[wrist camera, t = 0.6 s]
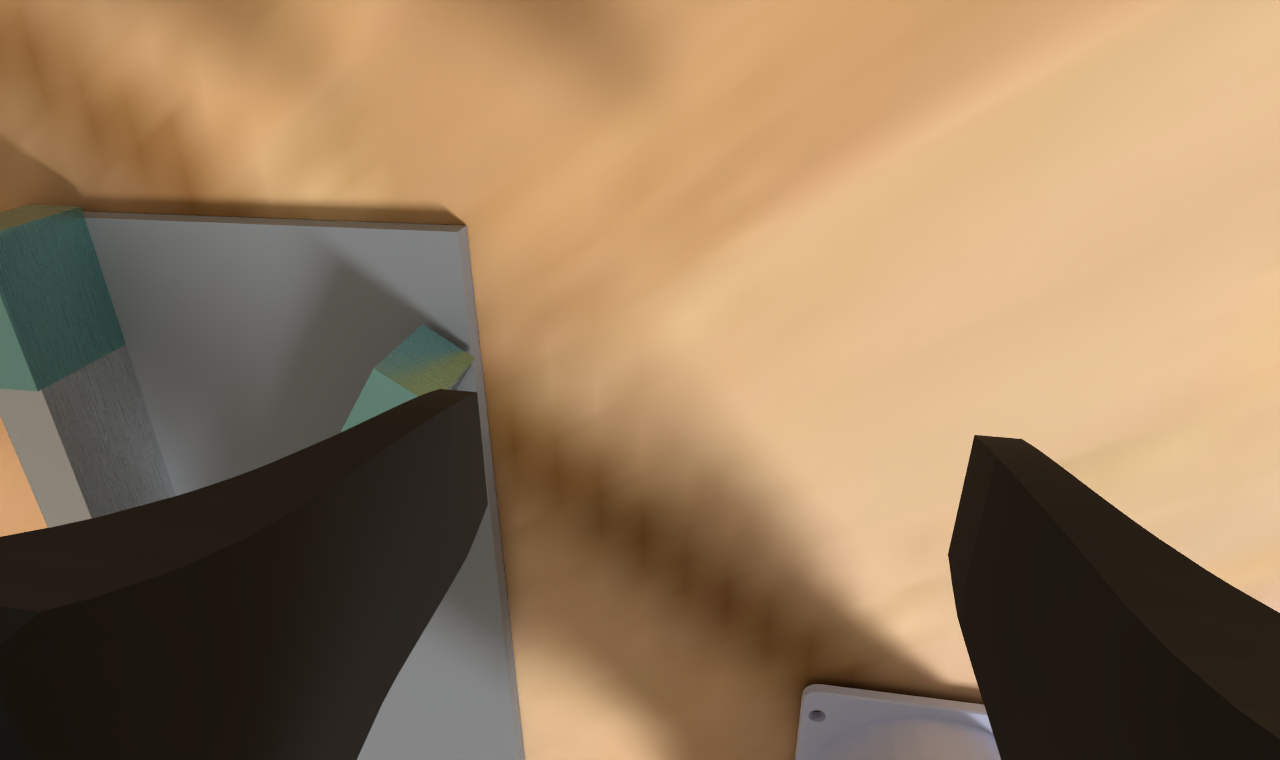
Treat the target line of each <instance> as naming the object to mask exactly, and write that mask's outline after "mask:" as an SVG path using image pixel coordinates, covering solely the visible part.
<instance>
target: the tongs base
mask: <svg viewBox="0 0 1280 760" xmlns="http://www.w3.org/2000/svg"><path fill="white" fill-rule="evenodd" d="M0 416H1V418H2V421H3V423H4V425H5V428H6V430H7V432H8V435H9V437H10V439H11V442H12V444H13V446H14V449H15V451H16V454H17V456H18V458H19V461H20V463H21V465H22V468H23V470H24V472H25V475H26V477H27V479H28V482H29V484H30V487H31V489H32V491H33V494H34V496H35V498H36V501H37V503H38V505H39V508H40V510H41V513H42V515H43V517H44V520H45V522H46V524H47V527H48V528H50V527H55V526H60V525H64V524H69V523H73V522H78V521H82V520H87V519H91V518H96V517H100V516H104V515H108V514H111V513H115V512H119V511H123V510H126V509H130V508H134V507H137V506H141V505H145V504H148V503H152V502H156V501H160V500H163V499H167V498H171V497H174V496H176V495H175V492H174V489H173V486H172V483H171V480H170V477H169V474H168V471H167V467H166V464H165V461H164V458H163V455H162V452H161V449H160V446H159V443H158V440H157V437H156V434H155V431H154V428H153V425H152V422H151V419H150V416H149V413H148V410H147V406H146V403H145V400H144V397H143V394H142V391H141V388H140V385H139V382H138V379H137V376H136V373H135V370H134V367H133V364H132V361H131V358H130V355H129V352H128V349H127V345H126V342H125V339H124V336H123V333H122V330H121V327H120V324H119V321H118V318H117V315H116V312H115V309H114V306H113V303H112V300H111V297H110V294H109V291H108V288H107V285H106V281H105V278H104V275H103V272H102V269H101V266H100V263H99V260H98V257H97V254H96V251H95V248H94V245H93V242H92V239H91V236H90V233H89V230H88V227H87V224H86V220H85V217H84V214H83V211H82V208H81V206H53V205H26V206H22V207H19V208H15V209H11V210H8V211H4V212H1V213H0Z"/></svg>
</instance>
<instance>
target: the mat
mask: <svg viewBox="0 0 1280 760" xmlns="http://www.w3.org/2000/svg"><path fill="white" fill-rule="evenodd" d="M83 214H84V217H85V220H86V224H87V227H88V230H89V233H90V236H91V239H92V242H93V245H94V248H95V251H96V254H97V257H98V260H99V263H100V266H101V269H102V272H103V275H104V278H105V281H106V285H107V288H108V291H109V294H110V297H111V300H112V303H113V306H114V309H115V312H116V315H117V318H118V321H119V324H120V327H121V330H122V333H123V336H124V339H125V342H126V345H127V349H128V352H129V355H130V358H131V361H132V364H133V367H134V370H135V373H136V376H137V379H138V382H139V385H140V388H141V391H142V394H143V397H144V400H145V403H146V406H147V410H148V413H149V416H150V419H151V422H152V425H153V428H154V431H155V434H156V437H157V440H158V443H159V446H160V449H161V452H162V455H163V458H164V461H165V464H166V467H167V471H168V474H169V477H170V480H171V483H172V486H173V489H174V492H175V495H176V496H178V495H181V494H184V493H188V492H191V491H194V490H197V489H200V488H203V487H206V486H209V485H212V484H215V483H218V482H221V481H224V480H227V479H230V478H233V477H235V476H238V475H241V474H244V473H246V472H249V471H252V470H254V469H257V468H259V467H262V466H265V465H267V464H270V463H272V462H274V461H277V460H279V459H281V458H284V457H286V456H288V455H291V454H293V453H295V452H297V451H300V450H302V449H304V448H307V447H309V446H311V445H314V444H316V443H318V442H321V441H323V440H325V439H328V438H330V437H332V436H334V435H336V434H339V433H340V432H341V430H342V428H343V426H344V425H345V423H346V421H347V419H348V417H349V415H350V413H351V411H352V409H353V407H354V405H355V403H356V401H357V399H358V397H359V395H360V393H361V392H362V390H363V388H364V386H365V384H366V382H367V380H368V378H369V376H370V374H371V372H372V370H373V368H374V367H376V366H377V365H378V364H379V363H380V362H381V361H382V360H383V359H384V358H386V357H387V356H388V355H389V354H390V353H391V352H392V351H393V350H394V349H395V348H397V347H398V346H399V345H400V344H401V343H402V342H403V341H404V340H405V339H407V338H408V337H409V336H410V335H411V334H412V333H413V332H414V331H415V330H416V329H418V328H419V327H420V326H421V325H422V324H423V325H425V326H426V327H428V328H429V329H431V330H432V331H434V332H436V333H437V334H439V335H440V336H442V337H443V338H445V339H447V340H448V341H450V342H451V343H453V344H454V345H456V346H458V347H459V348H461V349H462V350H464V351H465V352H467V353H468V354H470V355H472V356H473V357H475V359H474V361H473V363H472V364H471V366H470V368H469V369H468V371H467V373H466V375H465V376H464V378H463V380H462V381H461V383H460V385H459V386H458V388H457V390H458V391H470V392H477V395H478V405H479V415H480V426H481V436H482V446H483V457H484V467H485V477H486V488H487V498H488V506H487V508H486V511H485V514H484V516H483V519H482V521H481V524H480V527H479V529H478V532H477V534H476V537H475V539H474V541H473V544H472V546H471V548H470V551H469V553H468V555H467V558H466V560H465V561H464V563H463V565H462V567H461V569H460V570H459V572H458V574H457V576H456V577H455V579H454V581H453V582H452V584H451V586H450V588H449V589H448V591H447V593H446V594H445V596H444V598H443V600H442V601H441V603H440V605H439V606H438V608H437V610H436V611H435V613H434V615H433V616H432V618H431V620H430V622H429V623H428V625H427V627H426V628H425V630H424V632H423V633H422V635H421V637H420V638H419V640H418V642H417V643H416V645H415V647H414V648H413V650H412V652H411V654H410V655H409V657H408V659H407V660H406V662H405V664H404V665H403V667H402V669H401V670H400V672H399V674H398V675H397V677H396V679H395V681H394V683H393V685H392V687H391V688H390V690H389V692H388V694H387V696H386V698H385V700H384V702H383V703H382V706H381V708H380V710H379V712H378V714H377V716H376V719H375V721H374V723H373V725H372V727H371V730H370V732H369V734H368V736H367V738H366V741H365V743H364V745H363V747H362V749H361V752H360V754H359V756H358V758H357V760H525V753H524V744H523V735H522V726H521V717H520V708H519V698H518V689H517V680H516V671H515V662H514V653H513V644H512V635H511V626H510V617H509V607H508V598H507V589H506V580H505V571H504V562H503V553H502V544H501V535H500V526H499V517H498V507H497V498H496V489H495V480H494V471H493V462H492V453H491V444H490V435H489V426H488V417H487V407H486V398H485V389H484V380H483V371H482V362H481V353H480V344H479V335H478V326H477V317H476V307H475V298H474V289H473V280H472V271H471V262H470V253H469V244H468V235H467V226H465V225H438V224H411V223H384V222H357V221H330V220H303V219H276V218H249V217H222V216H195V215H168V214H141V213H114V212H87V211H83Z"/></svg>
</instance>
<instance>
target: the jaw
mask: <svg viewBox="0 0 1280 760" xmlns="http://www.w3.org/2000/svg"><path fill="white" fill-rule="evenodd" d="M474 359H475V357H473V356H472V355H470V354H468V353H467V352H465V351H464V350H462V349H461V348H459V347H458V346H456V345H454V344H453V343H451V342H450V341H448V340H447V339H445V338H443V337H442V336H440V335H439V334H437V333H436V332H434V331H432V330H431V329H429V328H428V327H426V326H425V325H423V324H422V325H421V326H420V327H419V328H418V329H416V330H415V331H414V332H413V333H412V334H411V335H410V336H409V337H408V338H407V339H405V340H404V341H403V342H402V343H401V344H400V345H399V346H398V347H397V348H395V349H394V350H393V351H392V352H391V353H390V354H389V355H388V356H387V357H386V358H384V359H383V360H382V361H381V362H380V363H379V364H378V365H377V366H376V367H374V368H373V370H372V372H371V374H370V376H369V378H368V380H367V382H366V384H365V386H364V388H363V390H362V392H361V393H360V395H359V397H358V399H357V401H356V403H355V405H354V407H353V409H352V411H351V413H350V415H349V417H348V419H347V421H346V423H345V425H344V426H343V428H342V430H341V432H343V431H345V430H347V429H349V428H351V427H353V426H356V425H358V424H360V423H362V422H364V421H366V420H368V419H370V418H373V417H375V416H377V415H379V414H381V413H383V412H385V411H387V410H389V409H392V408H394V407H396V406H398V405H400V404H402V403H405V402H407V401H409V400H411V399H414V398H416V397H418V396H421V395H423V394H426V393H428V392H431V391H435V390H438V389H447V390H457V388H458V386H459V385H460V383H461V381H462V380H463V378H464V376H465V375H466V373H467V371H468V369H469V368H470V366H471V364H472V363H473V361H474ZM341 432H340V433H341Z"/></svg>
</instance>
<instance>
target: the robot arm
mask: <svg viewBox="0 0 1280 760" xmlns="http://www.w3.org/2000/svg"><path fill="white" fill-rule="evenodd" d="M487 506H488V498H487V488H486V477H485V467H484V457H483V446H482V436H481V426H480V415H479V405H478V395H477V392H470V391H458V390H447V389H438V390H435V391H431V392H428V393H426V394H423V395H421V396H418V397H416V398H414V399H411V400H409V401H407V402H405V403H402V404H400V405H398V406H396V407H394V408H392V409H389V410H387V411H385V412H383V413H381V414H379V415H377V416H375V417H373V418H370V419H368V420H366V421H364V422H362V423H360V424H358V425H356V426H353V427H351V428H349V429H347V430H345V431H343V432H341V433H339V434H336V435H334V436H332V437H330V438H328V439H325V440H323V441H321V442H318V443H316V444H314V445H311V446H309V447H307V448H304V449H302V450H300V451H297V452H295V453H293V454H291V455H288V456H286V457H284V458H281V459H279V460H277V461H274V462H272V463H270V464H267V465H265V466H262V467H259V468H257V469H254V470H252V471H249V472H246V473H244V474H241V475H238V476H235V477H233V478H230V479H227V480H224V481H221V482H218V483H215V484H212V485H209V486H206V487H203V488H200V489H197V490H194V491H191V492H188V493H184V494H181V495H178V496H174V497H171V498H167V499H163V500H160V501H156V502H152V503H148V504H145V505H141V506H137V507H134V508H130V509H126V510H123V511H119V512H115V513H111V514H108V515H104V516H100V517H96V518H91V519H87V520H82V521H78V522H73V523H69V524H64V525H60V526H55V527H50V528H45V529H40V530H35V531H29V532H24V533H19V534H14V535H9V536H3V537H0V760H357V758H358V756H359V754H360V752H361V749H362V747H363V745H364V743H365V741H366V738H367V736H368V734H369V732H370V730H371V727H372V725H373V723H374V721H375V719H376V716H377V714H378V712H379V710H380V708H381V706H382V703H383V702H384V700H385V698H386V696H387V694H388V692H389V690H390V688H391V687H392V685H393V683H394V681H395V679H396V677H397V675H398V674H399V672H400V670H401V669H402V667H403V665H404V664H405V662H406V660H407V659H408V657H409V655H410V654H411V652H412V650H413V648H414V647H415V645H416V643H417V642H418V640H419V638H420V637H421V635H422V633H423V632H424V630H425V628H426V627H427V625H428V623H429V622H430V620H431V618H432V616H433V615H434V613H435V611H436V610H437V608H438V606H439V605H440V603H441V601H442V600H443V598H444V596H445V594H446V593H447V591H448V589H449V588H450V586H451V584H452V582H453V581H454V579H455V577H456V576H457V574H458V572H459V570H460V569H461V567H462V565H463V563H464V561H465V560H466V558H467V555H468V553H469V551H470V548H471V546H472V544H473V541H474V539H475V537H476V534H477V532H478V529H479V527H480V524H481V521H482V519H483V516H484V514H485V511H486V508H487ZM948 557H949V564H950V571H951V579H952V586H953V592H954V598H955V604H956V610H957V616H958V620H959V623H960V627H961V630H962V634H963V637H964V641H965V644H966V647H967V651H968V654H969V657H970V661H971V664H972V667H973V670H974V674H975V677H976V680H977V683H978V687H979V690H980V693H981V696H982V700H983V703H984V704H976V703H968V702H960V701H952V700H944V699H935V698H927V697H919V696H911V695H903V694H895V693H887V692H879V691H871V690H863V689H855V688H847V687H839V686H831V685H823V684H813V685H810V686H807V687H806V688H805V689H804V690H803V693H802V699H801V708H800V717H799V726H798V734H797V743H796V752H795V760H1280V613H1279V612H1277V611H1275V610H1273V609H1272V608H1270V607H1268V606H1266V605H1265V604H1263V603H1261V602H1259V601H1258V600H1256V599H1254V598H1252V597H1251V596H1249V595H1247V594H1245V593H1244V592H1242V591H1240V590H1238V589H1236V588H1235V587H1233V586H1231V585H1230V584H1228V583H1226V582H1225V581H1223V580H1222V579H1220V578H1218V577H1217V576H1215V575H1213V574H1212V573H1210V572H1209V571H1207V570H1205V569H1204V568H1202V567H1201V566H1199V565H1198V564H1196V563H1195V562H1193V561H1192V560H1190V559H1189V558H1187V557H1186V556H1184V555H1183V554H1181V553H1180V552H1178V551H1177V550H1175V549H1174V548H1172V547H1171V546H1169V545H1168V544H1166V543H1165V542H1163V541H1162V540H1160V539H1159V538H1157V537H1156V536H1154V535H1153V534H1151V533H1150V532H1149V531H1147V530H1146V529H1144V528H1143V527H1142V526H1140V525H1139V524H1137V523H1136V522H1134V521H1133V520H1132V519H1130V518H1129V517H1128V516H1126V515H1125V514H1123V513H1122V512H1121V511H1119V510H1118V509H1117V508H1115V507H1114V506H1113V505H1111V504H1110V503H1109V502H1107V501H1106V500H1104V499H1103V498H1102V497H1101V496H1099V495H1098V494H1097V493H1095V492H1094V491H1093V490H1091V489H1090V488H1089V487H1087V486H1086V485H1085V484H1083V483H1082V482H1081V481H1079V480H1078V479H1077V478H1075V477H1074V476H1073V475H1072V474H1070V473H1069V472H1068V471H1066V470H1065V469H1064V468H1062V467H1061V466H1060V465H1058V464H1057V463H1056V462H1054V461H1053V460H1052V459H1050V458H1049V457H1048V456H1046V455H1045V454H1044V453H1042V452H1041V451H1039V450H1038V449H1036V448H1035V447H1033V446H1032V445H1030V444H1029V443H1027V442H1026V441H1024V440H1022V439H1014V438H1003V437H991V436H979V435H975V436H974V440H973V445H972V449H971V454H970V458H969V463H968V467H967V472H966V476H965V481H964V485H963V490H962V494H961V499H960V503H959V508H958V512H957V517H956V521H955V526H954V530H953V535H952V539H951V544H950V548H949V553H948ZM813 710H819V711H821V712H815V711H813Z"/></svg>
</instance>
